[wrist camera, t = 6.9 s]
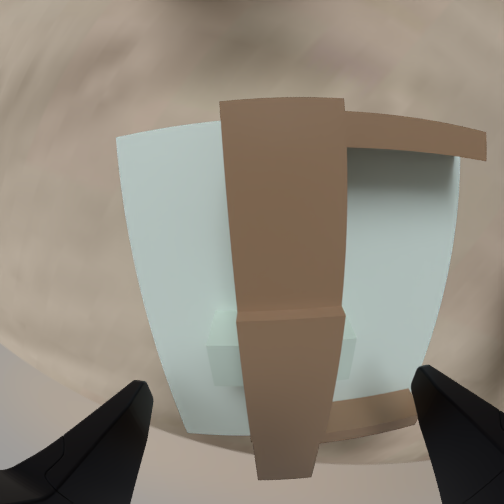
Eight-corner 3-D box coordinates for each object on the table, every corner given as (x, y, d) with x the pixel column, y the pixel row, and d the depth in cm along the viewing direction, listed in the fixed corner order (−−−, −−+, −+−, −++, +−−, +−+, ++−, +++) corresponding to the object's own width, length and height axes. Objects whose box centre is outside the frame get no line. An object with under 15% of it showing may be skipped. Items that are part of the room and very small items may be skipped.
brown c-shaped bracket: (454, 131, 8) (535, 136, 4) (403, 399, 13) (428, 457, 9) (237, 120, 9) (216, 98, 5) (259, 417, 14) (257, 487, 9)
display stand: (434, 131, 10) (495, 133, 6) (390, 396, 16) (408, 444, 12) (137, 137, 11) (82, 138, 7) (193, 409, 16) (180, 461, 12)
